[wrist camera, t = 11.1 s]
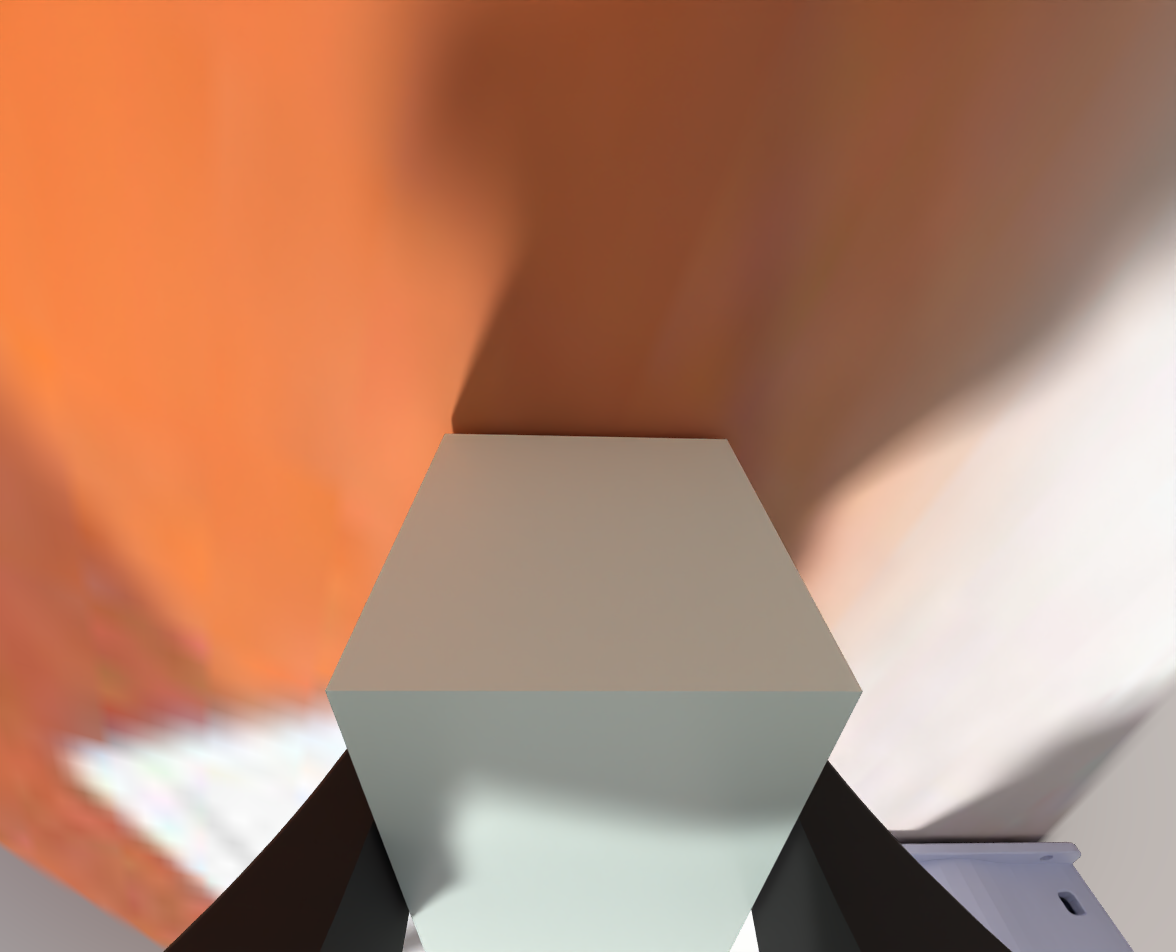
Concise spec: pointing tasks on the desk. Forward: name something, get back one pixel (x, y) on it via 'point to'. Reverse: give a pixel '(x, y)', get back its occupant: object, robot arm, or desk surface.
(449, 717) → the pale mint box
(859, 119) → the desk surface
